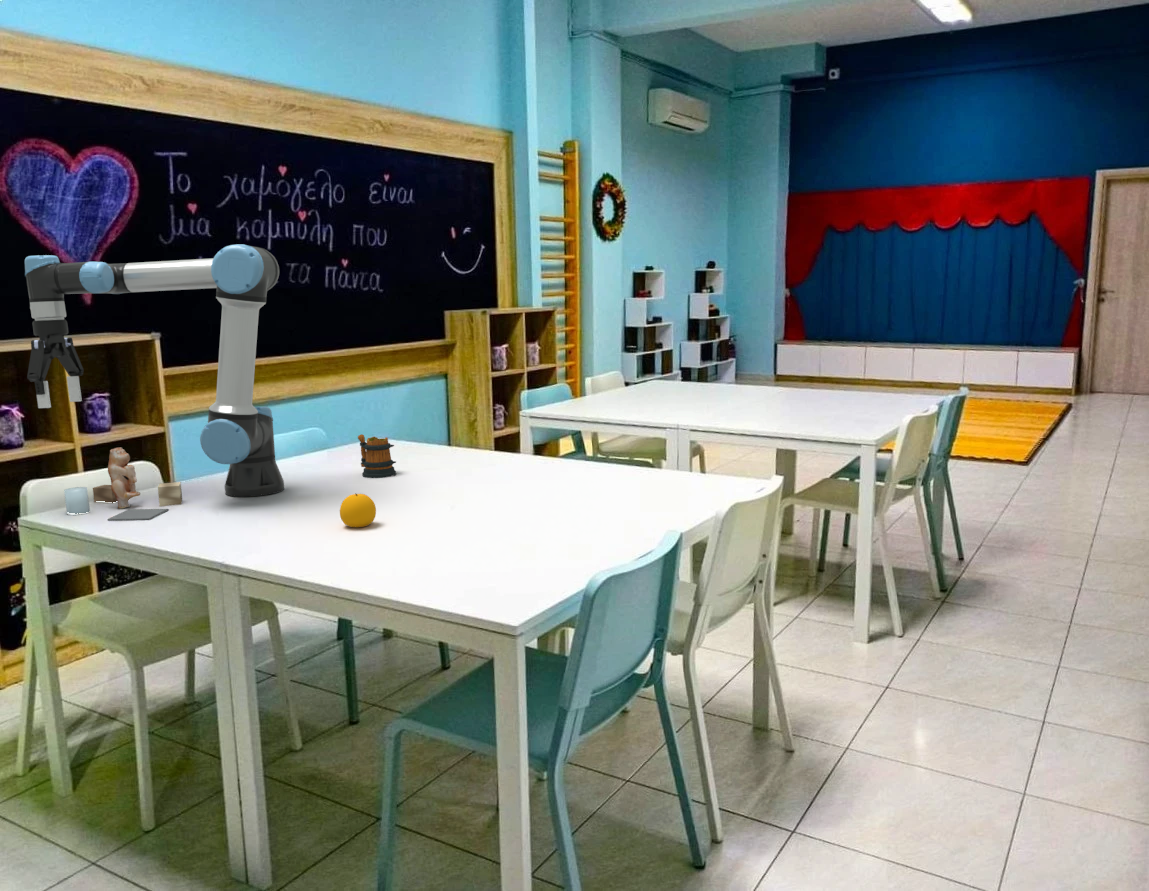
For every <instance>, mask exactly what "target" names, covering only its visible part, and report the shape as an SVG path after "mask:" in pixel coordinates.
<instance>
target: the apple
mask: <svg viewBox="0 0 1149 891" xmlns="http://www.w3.org/2000/svg"><path fill="white" fill-rule="evenodd" d="M376 514H377V508H376V504H375V502H374V501H373V499H372V498H371V497H370V496H368V495H366V494H363V493H357V492H356V493H354V494H349V495H348V496H346V498H344V499H343V500H342V503H341V505H340V508H339V516H340V519H341V522H343V524H344V525H346V526H348V527H350V528H363V527H367V526H369V525H370V524H372V523H373V522H374V521H375V519H376Z"/></svg>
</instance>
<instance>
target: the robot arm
mask: <svg viewBox="0 0 1149 891" xmlns="http://www.w3.org/2000/svg"><path fill="white" fill-rule="evenodd" d="M279 276H280V266H279V264H278V260H277V259H276V257H275V255H273V254H272V253H271V252H269V251H268V250H267V249H265V248H263V247H259V246H253V245H247V244H244V243H243V244H237V243H236V244H230V245H226V246H224V247H223V248H221V249H220V250H219V251H217V253H216V254H215V255H214V256H213V258H196V259H194V258H193V259H179V260H178V259H177V260H161V261H160V260H159V261H158V260H157V261H144V262H128V263H126V262H125V263H121V262H120V263H107V262H105V261H104V262H103V261H92V260H91V261H83V262H82V261H81V262H80V261H79V262H67V263H65V262H64V263H63V262H60V259H59V257H58V256H57V255H52V254H51V255H49V254H48V255H47V254H45V255H44V254H43V255H39V254H38V255H28V256H26V257H25V259H24V277H25V280H26V286H27V292H28V298H29V299H28V300H29V309H30V314H31V318H32V319H34V320H33V321H32V323H31V324H32V330H33V336H35V337H39V339H32V340H30V348H31V349H30V357H29V362H28V369H27V374H26V375H27V376H26V378H27V380H28V381H29V382H31V383H32V382H34V387H35V393H36V401H37V408H38V409H50V408H52V404H51V398H50V388H49V382H48V380H46V377H47V374H48V371H49V369H50V365H51V363H52V360H54V359H55V358H56V359H58V361H59V363H60V365H62V368H63V369H64V370H65V372H66V373H67V374H68V375H67V376H66V382H67V389H68V390H67V391H68V397H69V402H70V403H71V402H72V403H74V402H75V403H76V402H83V400H82V392H81V391H82V390H81V386H80V385H81V384H80V376H84V367H83V365H82V363H81V360H80V358H79V355H78V352H77V351H76V348H75V346H74V342H73V341H74V339H73V338H72V337H65V336H64V335H68V334H69V326H68V321H67V320H66V319H65V318H66V317H67V310H66V304H65V295H71V294H72V295H73V294H74V295H75V294H79V295H80V294H95V295H96V294H112V295H120V294H128V293H129V294H130V293H145V292H159V291H160V292H162V291H163V292H164V291H165V292H166V291H181V290H201V289H203V290H205V289H216V291H215V295H216V296H215V299H217V301H218V302H219V303H220V304H221V319H220V334H219V348H218V363H217V379H216V396H215V401H214V403H212V404H211V405H210V406H209V407H208V413H207V414H208V417H207V423H206V425H205V426H204V427H203V428H202V430H201V433H200V435H199V436H200V437H199V441H200V446H201V449H202V452H203V453H204V454H205V455H206V456H207V457H208V458H209V459H210V460H211V461H213V462H215V463H218V464H220V465H229V467H228V472H227V474H226V479H225V483H224V494H225V495H226V496H229V497H239V498H240V497H242V498H243V497H261V496H266V495H267V496H268V495H272V494H275V493H276V494H277V493H279V492H280V493H281V492H282V491H283V490H285V481H284V478H283V476H282V474H281V471H280V469H279V467H278V465H277V461H276V452H275V450H276V449H275V434H274V423H273V422H274V418H273V413H272V412H273V411H272V410H271V408H270V407H268V406H254V404H253V400H254V399H253V396H254V385H255V371H256V369H255V367H256V356H257V343H258V342H257V340H258V330H259V329H258V326H259V316H260V309H261V308H262V307H264V305H266V304H267V297H268V296H267V294H268V291H269V290H271V289H273V287H274V286H276V284H277V283H278V279H279Z"/></svg>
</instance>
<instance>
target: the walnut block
mask: <svg viewBox="0 0 1149 891" xmlns="http://www.w3.org/2000/svg"><path fill="white" fill-rule="evenodd" d="M92 494H93V495H92V496H93V502H94V503H97V502H96V501H105V502H112V503H111V504H114V503H113V502H116V501H117V499H116V497H115V495H114V493H113V491H112V489H111V484H101V485H98V486H94V487H92ZM116 503H117V502H116Z"/></svg>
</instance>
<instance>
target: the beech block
mask: <svg viewBox="0 0 1149 891" xmlns="http://www.w3.org/2000/svg"><path fill="white" fill-rule="evenodd" d="M182 494H183V492H182V482H181V481H178V482H177V481H175V482H163V483H158V486H157V495H158V503H159V507H166V506H169V507H170V506H178V505H182V503H183V495H182Z"/></svg>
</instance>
